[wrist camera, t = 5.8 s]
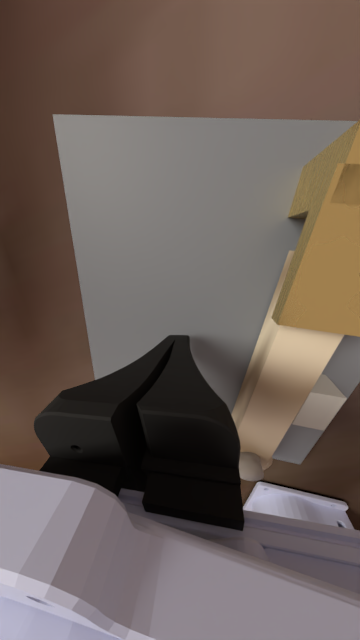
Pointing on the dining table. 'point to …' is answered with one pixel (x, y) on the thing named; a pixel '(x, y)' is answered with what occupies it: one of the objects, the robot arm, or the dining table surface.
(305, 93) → the dining table surface
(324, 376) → the block
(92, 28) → the dining table surface
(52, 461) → the robot arm
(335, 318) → the keeper
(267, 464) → the link
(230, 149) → the base plate
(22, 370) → the dining table surface
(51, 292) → the dining table surface
